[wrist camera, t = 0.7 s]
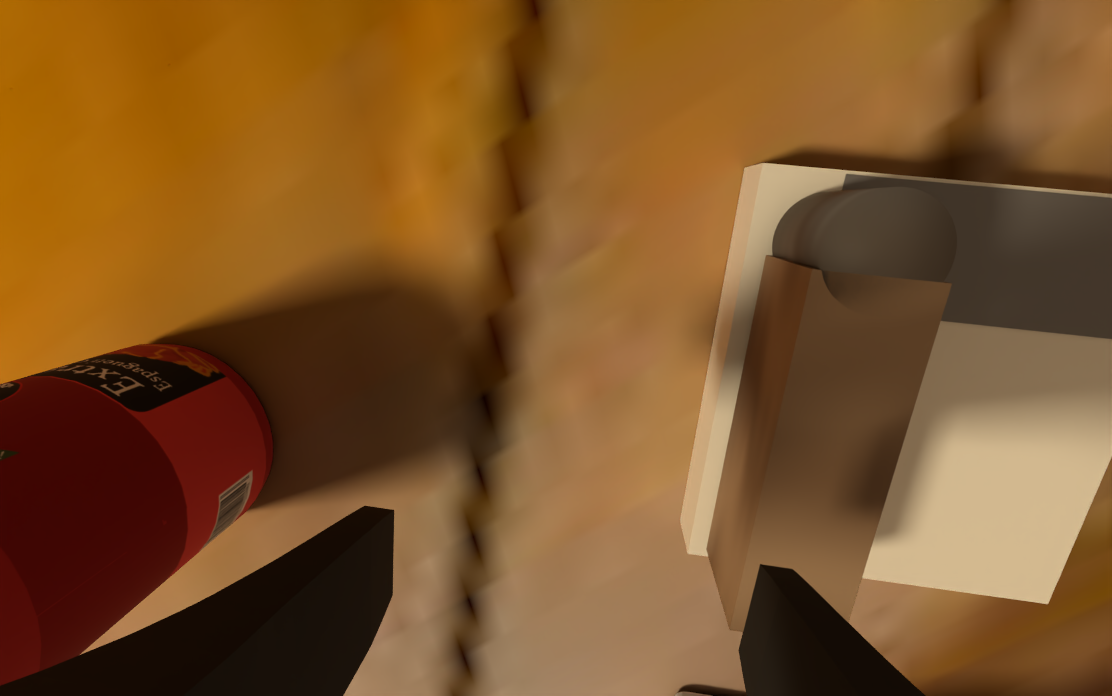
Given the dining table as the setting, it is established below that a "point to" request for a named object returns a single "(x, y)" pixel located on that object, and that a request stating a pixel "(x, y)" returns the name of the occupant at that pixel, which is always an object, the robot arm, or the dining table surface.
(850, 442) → the stool leg
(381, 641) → the dining table surface
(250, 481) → the canned food
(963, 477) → the stool seat
